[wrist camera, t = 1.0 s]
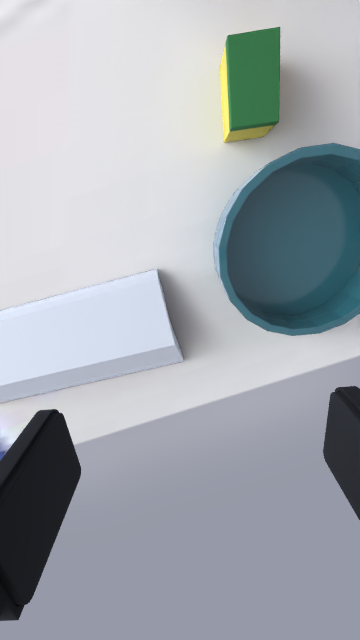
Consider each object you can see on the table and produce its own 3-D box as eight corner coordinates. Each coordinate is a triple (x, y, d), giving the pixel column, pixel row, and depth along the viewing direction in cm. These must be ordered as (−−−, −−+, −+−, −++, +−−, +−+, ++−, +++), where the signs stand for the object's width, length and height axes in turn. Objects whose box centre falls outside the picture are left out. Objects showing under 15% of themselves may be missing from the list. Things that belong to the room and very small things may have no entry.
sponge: (219, 66, 24) (227, 35, 20) (263, 59, 24) (280, 26, 20) (223, 142, 26) (231, 128, 22) (264, 136, 26) (279, 121, 22)
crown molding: (157, 270, 31) (153, 276, 28) (184, 358, 35) (184, 372, 32) (-56, 328, 34) (-82, 340, 31) (-8, 402, 38) (-26, 420, 35)
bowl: (207, 169, 27) (212, 159, 23) (383, 145, 26) (426, 129, 22) (218, 325, 34) (224, 343, 29) (361, 310, 33) (390, 326, 28)
